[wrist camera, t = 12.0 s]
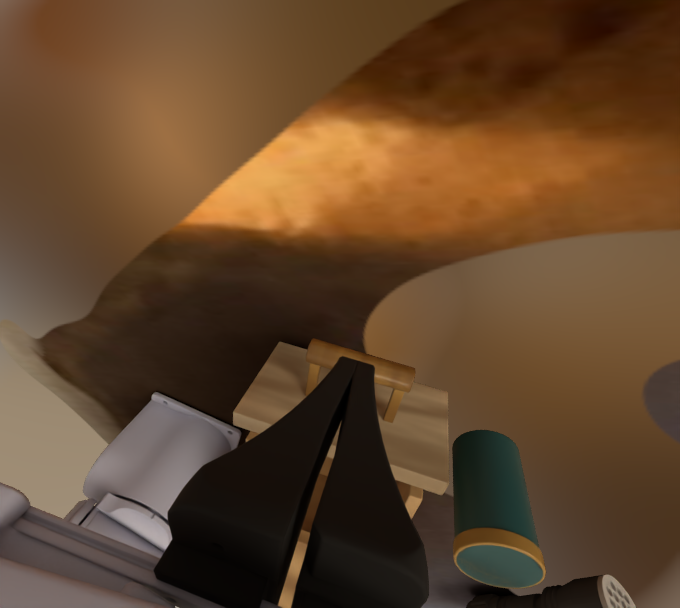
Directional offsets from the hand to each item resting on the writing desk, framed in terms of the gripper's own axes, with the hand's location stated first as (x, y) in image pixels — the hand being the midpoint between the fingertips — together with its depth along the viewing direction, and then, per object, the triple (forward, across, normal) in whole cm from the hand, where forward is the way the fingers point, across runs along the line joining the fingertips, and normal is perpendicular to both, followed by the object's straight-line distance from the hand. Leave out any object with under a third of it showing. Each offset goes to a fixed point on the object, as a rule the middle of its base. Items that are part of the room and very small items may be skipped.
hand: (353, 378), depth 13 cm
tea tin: (+10, -11, +13) cm, 19 cm away
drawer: (+9, 0, +12) cm, 15 cm away
